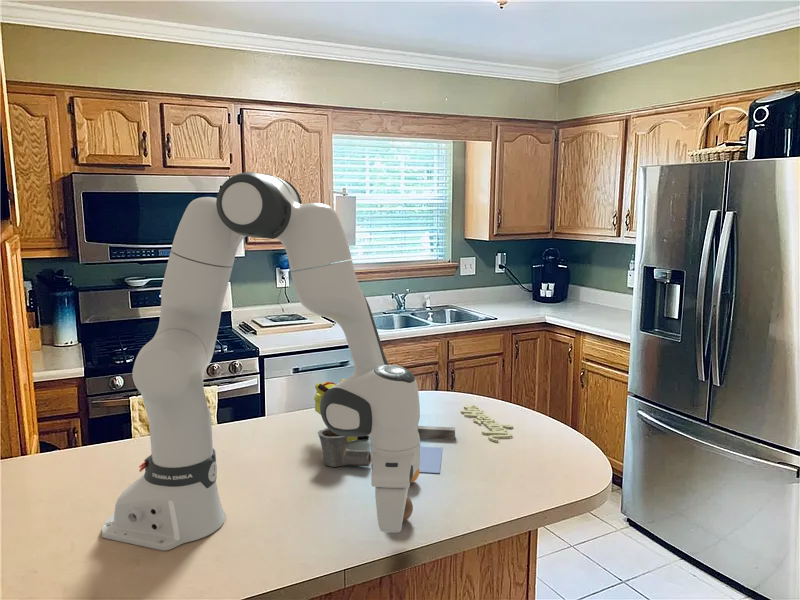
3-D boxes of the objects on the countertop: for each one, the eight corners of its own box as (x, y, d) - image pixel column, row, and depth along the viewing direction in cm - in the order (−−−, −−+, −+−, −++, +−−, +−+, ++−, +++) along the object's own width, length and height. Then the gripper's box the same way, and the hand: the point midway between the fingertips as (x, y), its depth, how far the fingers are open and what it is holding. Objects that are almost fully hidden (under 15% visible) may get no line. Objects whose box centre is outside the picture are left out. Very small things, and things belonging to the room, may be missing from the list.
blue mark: (379, 470, 141) (379, 469, 141) (387, 445, 155) (387, 444, 155) (439, 473, 140) (439, 472, 140) (442, 448, 154) (442, 447, 154)
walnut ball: (383, 526, 118) (383, 501, 117) (387, 512, 123) (387, 487, 122) (411, 528, 117) (411, 502, 116) (413, 514, 122) (414, 489, 121)
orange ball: (393, 487, 133) (393, 464, 132) (396, 476, 139) (396, 453, 138) (418, 488, 133) (418, 465, 132) (420, 477, 138) (420, 455, 137)
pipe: (366, 473, 140) (366, 440, 139) (314, 468, 143) (313, 436, 141) (373, 462, 146) (373, 430, 144) (322, 457, 149) (322, 426, 147)
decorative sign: (527, 436, 160) (492, 441, 157) (526, 440, 160) (492, 444, 157) (484, 403, 185) (453, 406, 182) (484, 406, 185) (453, 409, 182)
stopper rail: (379, 435, 161) (379, 426, 161) (380, 432, 163) (380, 423, 163) (454, 439, 159) (455, 430, 159) (455, 436, 161) (455, 427, 161)
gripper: (385, 432, 119) (386, 498, 121) (369, 482, 99) (371, 559, 101) (417, 433, 118) (417, 499, 120) (408, 483, 98) (409, 561, 100)
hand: (396, 527), depth 111 cm, fingers closed
